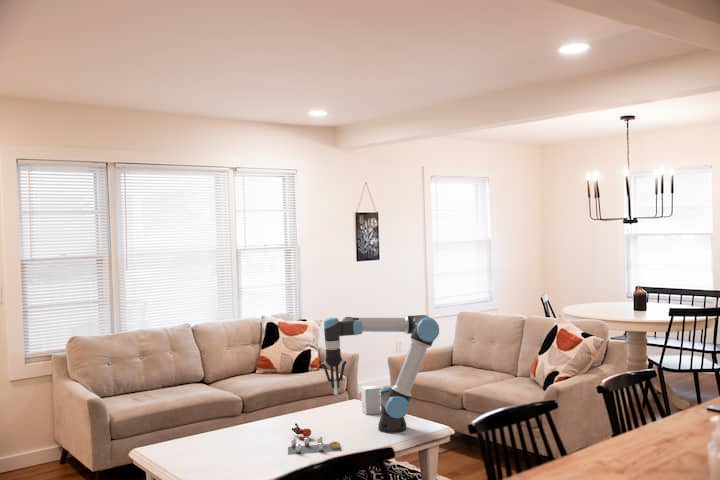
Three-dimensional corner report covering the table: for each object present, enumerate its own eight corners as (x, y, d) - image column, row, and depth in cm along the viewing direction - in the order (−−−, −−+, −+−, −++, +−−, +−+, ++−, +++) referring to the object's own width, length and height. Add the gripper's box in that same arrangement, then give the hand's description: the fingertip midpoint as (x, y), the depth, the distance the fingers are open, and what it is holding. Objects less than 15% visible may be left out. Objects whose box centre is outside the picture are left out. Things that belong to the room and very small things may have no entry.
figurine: (301, 432, 354) (318, 436, 343) (293, 445, 349) (310, 448, 338) (290, 420, 350) (307, 423, 338) (281, 433, 345) (299, 436, 334)
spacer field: (322, 444, 332) (322, 436, 332) (323, 452, 320) (323, 443, 320) (291, 446, 330) (291, 438, 330) (291, 454, 318) (291, 445, 318)
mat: (339, 444, 333) (339, 443, 333) (341, 452, 321) (341, 450, 321) (287, 447, 330) (287, 446, 330) (287, 455, 318) (287, 454, 318)
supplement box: (380, 413, 387) (380, 388, 387) (366, 415, 384) (365, 389, 384) (376, 409, 396) (375, 384, 395) (361, 411, 393) (360, 386, 393)
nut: (340, 446, 327) (339, 441, 327) (338, 449, 324) (338, 444, 324) (330, 446, 328) (330, 441, 328) (329, 449, 324) (329, 444, 324)
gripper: (344, 346, 343) (347, 391, 344) (319, 348, 341) (322, 393, 342) (346, 348, 336) (349, 394, 336) (320, 350, 334) (324, 397, 334)
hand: (336, 394), depth 339 cm, fingers closed
